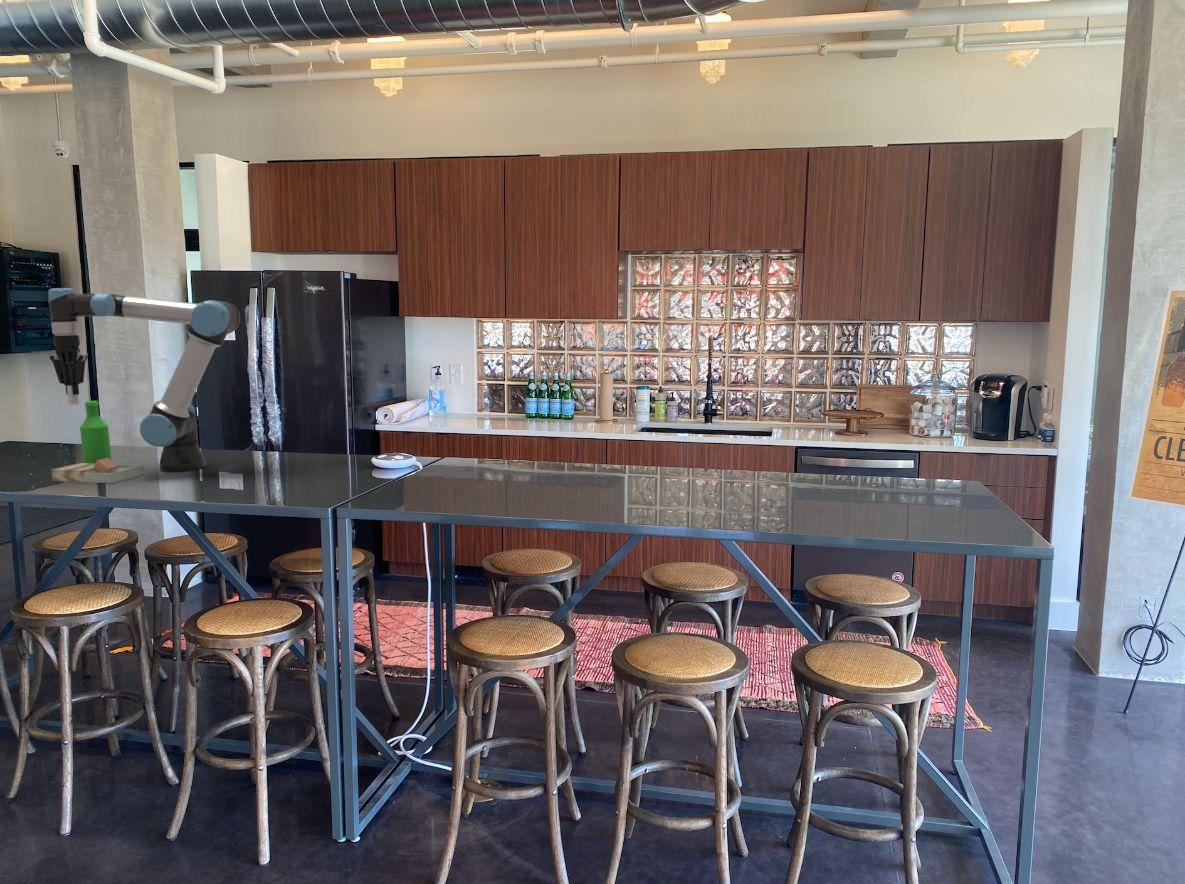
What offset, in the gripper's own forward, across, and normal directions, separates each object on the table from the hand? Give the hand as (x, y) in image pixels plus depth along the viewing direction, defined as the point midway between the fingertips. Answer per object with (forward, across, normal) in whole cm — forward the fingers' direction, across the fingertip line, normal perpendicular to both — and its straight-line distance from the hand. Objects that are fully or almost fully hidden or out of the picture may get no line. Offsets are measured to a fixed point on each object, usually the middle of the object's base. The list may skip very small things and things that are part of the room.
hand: (74, 404), depth 293 cm
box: (+26, -13, 0) cm, 29 cm away
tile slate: (+22, -15, 0) cm, 27 cm away
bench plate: (+26, -1, 0) cm, 26 cm away
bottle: (+26, +7, -16) cm, 31 cm away
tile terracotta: (+23, -9, 0) cm, 24 cm away
